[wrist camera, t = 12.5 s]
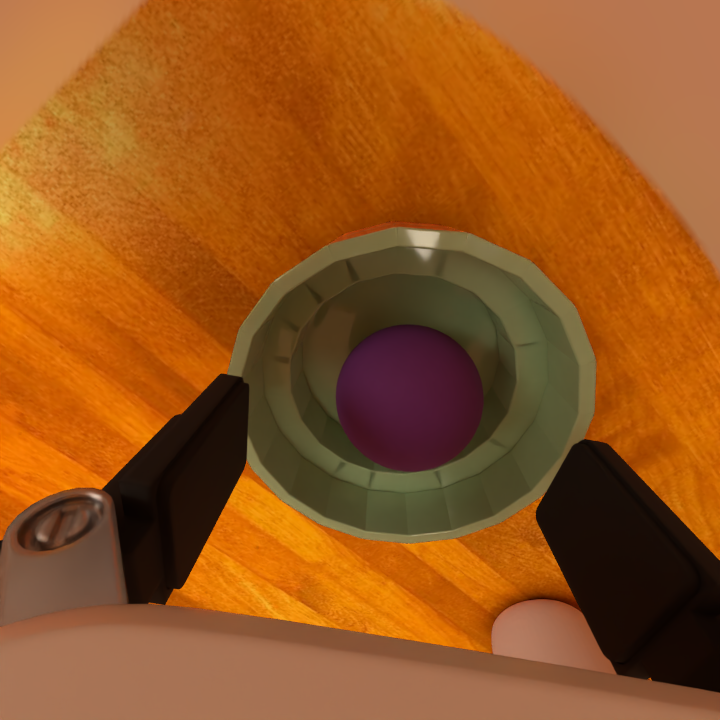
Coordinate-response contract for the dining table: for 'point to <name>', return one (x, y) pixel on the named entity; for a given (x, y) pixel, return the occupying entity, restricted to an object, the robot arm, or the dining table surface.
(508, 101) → the dining table surface
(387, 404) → the ball
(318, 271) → the bowl
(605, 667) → the cup
